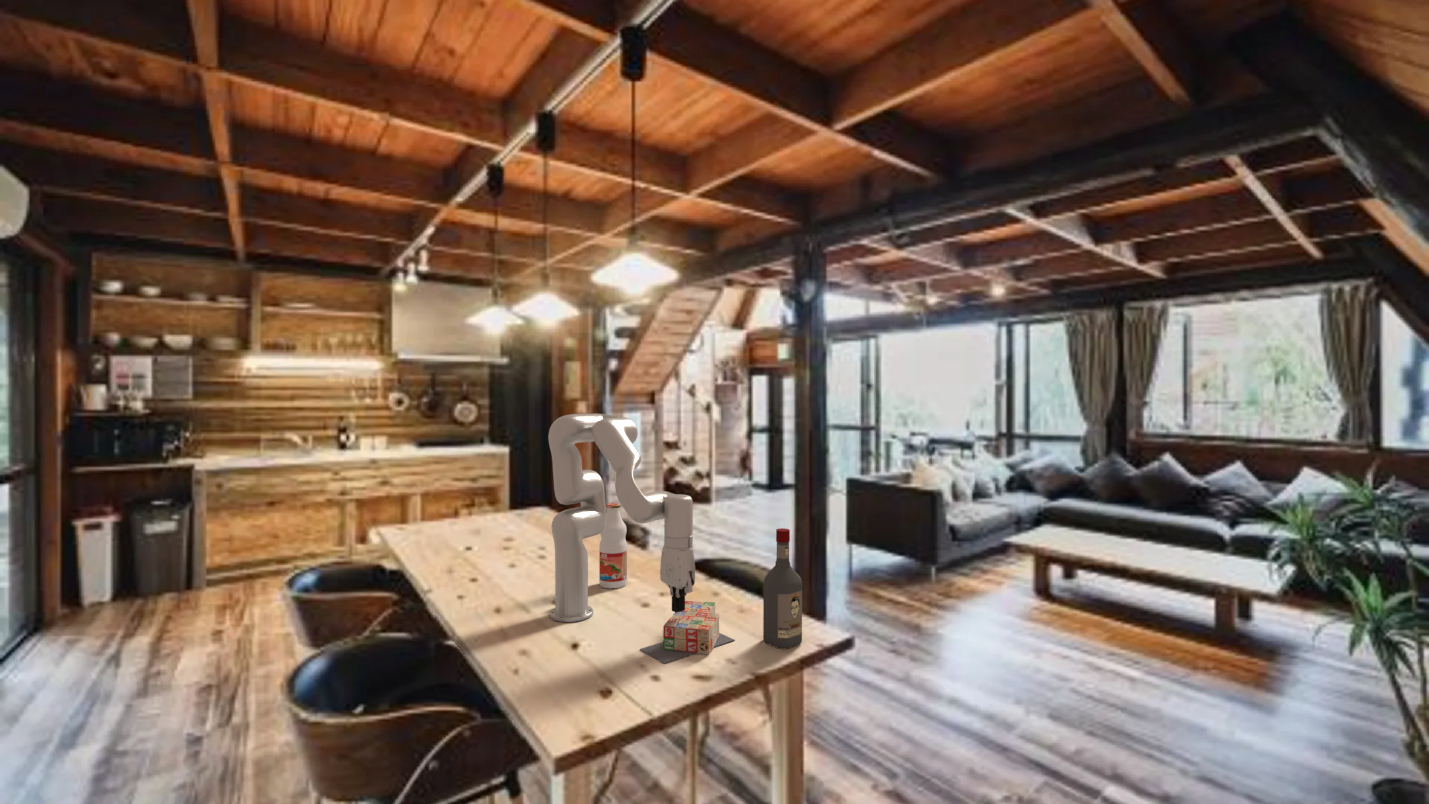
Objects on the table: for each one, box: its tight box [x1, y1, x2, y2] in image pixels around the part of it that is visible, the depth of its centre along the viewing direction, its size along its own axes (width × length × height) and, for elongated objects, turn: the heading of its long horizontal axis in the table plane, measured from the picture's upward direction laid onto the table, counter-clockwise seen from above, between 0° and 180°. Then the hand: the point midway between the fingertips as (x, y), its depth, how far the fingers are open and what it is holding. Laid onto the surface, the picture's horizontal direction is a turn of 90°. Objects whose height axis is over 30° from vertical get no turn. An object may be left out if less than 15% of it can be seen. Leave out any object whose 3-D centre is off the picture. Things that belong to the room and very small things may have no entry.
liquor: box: [762, 527, 803, 649], centre depth 170 cm, size 9×9×30 cm
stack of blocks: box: [662, 600, 720, 655], centre depth 173 cm, size 21×6×12 cm
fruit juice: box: [598, 502, 628, 589], centre depth 220 cm, size 9×9×28 cm
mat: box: [639, 632, 736, 665], centre depth 168 cm, size 11×23×1 cm, turn 130°
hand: (678, 610), depth 169 cm, fingers closed
